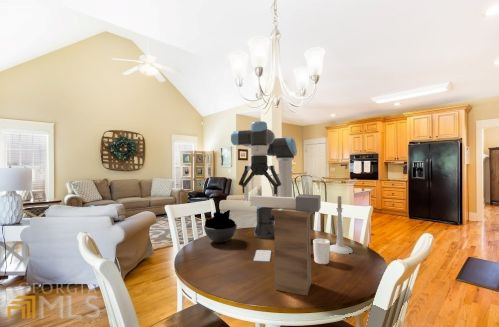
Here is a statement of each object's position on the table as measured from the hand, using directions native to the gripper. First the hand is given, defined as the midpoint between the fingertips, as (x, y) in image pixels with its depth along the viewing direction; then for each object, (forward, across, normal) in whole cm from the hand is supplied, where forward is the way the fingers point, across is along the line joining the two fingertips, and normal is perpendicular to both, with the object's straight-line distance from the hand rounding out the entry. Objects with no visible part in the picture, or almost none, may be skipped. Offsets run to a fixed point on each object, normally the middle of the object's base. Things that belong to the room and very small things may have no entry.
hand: (259, 201), depth 113 cm
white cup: (+31, +26, +15) cm, 43 cm away
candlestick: (+31, +34, +35) cm, 58 cm away
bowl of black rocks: (+31, -35, +27) cm, 54 cm away
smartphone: (+31, -3, +12) cm, 34 cm away
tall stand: (+30, +18, -14) cm, 38 cm away
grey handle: (0, +15, -13) cm, 20 cm away
